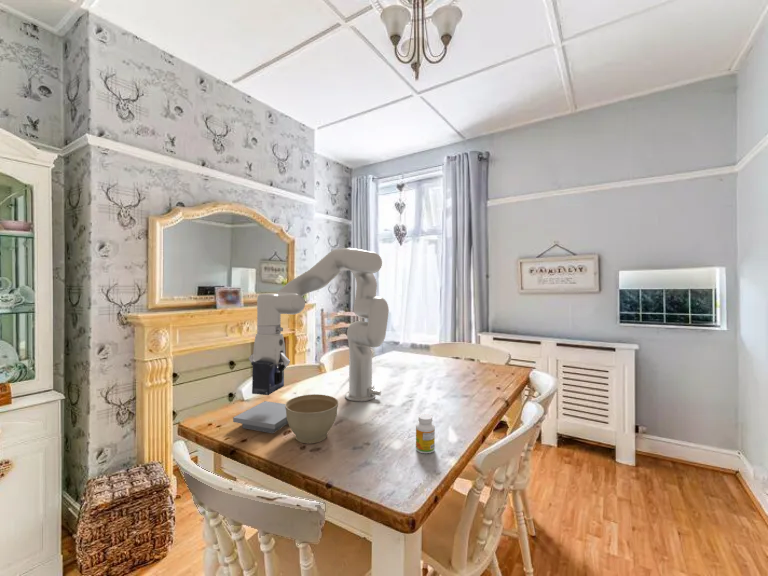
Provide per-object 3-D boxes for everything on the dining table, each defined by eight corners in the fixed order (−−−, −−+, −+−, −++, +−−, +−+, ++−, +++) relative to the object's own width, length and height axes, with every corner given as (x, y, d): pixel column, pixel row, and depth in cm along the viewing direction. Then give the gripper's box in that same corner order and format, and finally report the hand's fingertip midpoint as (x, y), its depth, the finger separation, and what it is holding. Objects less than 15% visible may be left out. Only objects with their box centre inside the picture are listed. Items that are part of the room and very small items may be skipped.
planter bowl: (313, 455, 96) (313, 417, 96) (274, 440, 105) (273, 405, 105) (348, 433, 110) (348, 399, 110) (311, 422, 119) (311, 390, 118)
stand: (302, 417, 123) (302, 406, 122) (274, 437, 107) (274, 424, 107) (265, 411, 128) (265, 401, 128) (233, 429, 113) (233, 417, 112)
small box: (269, 396, 111) (269, 363, 111) (251, 394, 113) (251, 362, 112) (285, 386, 122) (285, 356, 121) (268, 384, 123) (268, 355, 123)
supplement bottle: (414, 445, 103) (414, 413, 102) (432, 444, 103) (432, 412, 103) (417, 454, 97) (417, 420, 97) (436, 453, 98) (436, 420, 97)
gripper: (297, 330, 117) (297, 382, 118) (255, 327, 123) (255, 376, 123) (284, 333, 110) (284, 388, 111) (240, 330, 116) (240, 382, 116)
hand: (268, 381), depth 117 cm, fingers closed on small box, 6 cm apart
